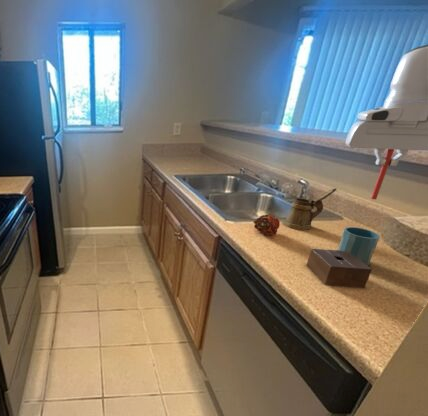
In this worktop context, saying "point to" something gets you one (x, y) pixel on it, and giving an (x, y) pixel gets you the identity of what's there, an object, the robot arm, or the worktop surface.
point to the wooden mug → (305, 212)
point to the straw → (382, 174)
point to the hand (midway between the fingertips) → (385, 165)
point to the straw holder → (338, 268)
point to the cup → (359, 243)
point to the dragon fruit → (267, 224)
